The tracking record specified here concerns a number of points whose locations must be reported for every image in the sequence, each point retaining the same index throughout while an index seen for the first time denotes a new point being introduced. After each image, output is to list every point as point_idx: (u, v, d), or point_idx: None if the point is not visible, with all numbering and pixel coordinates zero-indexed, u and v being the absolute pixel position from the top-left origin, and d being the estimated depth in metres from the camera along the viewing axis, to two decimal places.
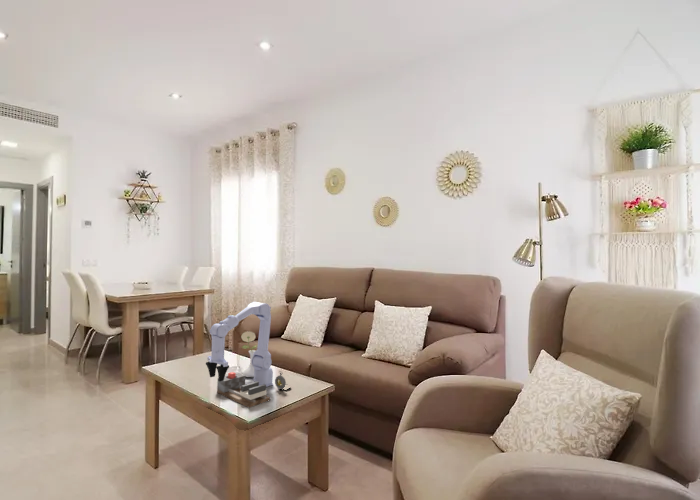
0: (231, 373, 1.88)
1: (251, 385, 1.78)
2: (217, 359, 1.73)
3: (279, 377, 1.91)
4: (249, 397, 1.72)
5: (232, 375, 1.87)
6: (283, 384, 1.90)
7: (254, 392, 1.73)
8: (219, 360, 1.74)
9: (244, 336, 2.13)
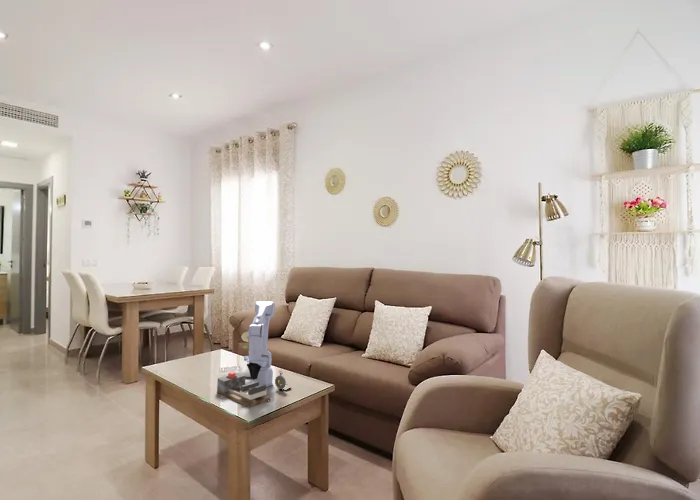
0: (231, 373, 1.88)
1: (251, 385, 1.78)
2: (255, 359, 1.75)
3: (279, 377, 1.91)
4: (249, 397, 1.72)
5: (232, 375, 1.87)
6: (283, 384, 1.90)
7: (254, 392, 1.73)
8: (257, 360, 1.75)
9: (244, 336, 2.13)
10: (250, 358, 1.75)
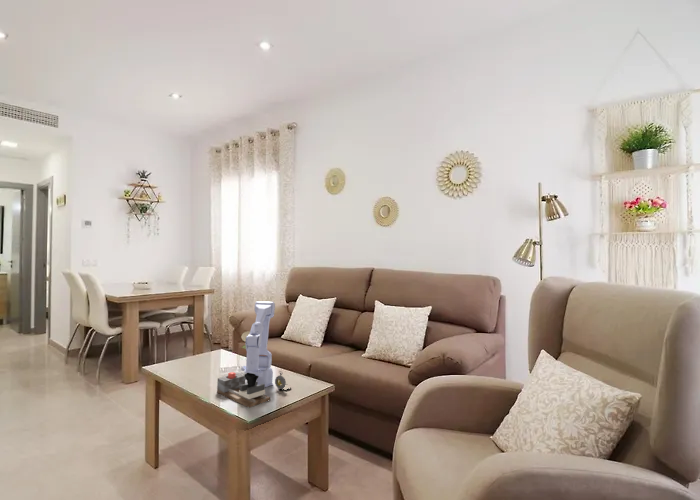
0: (231, 373, 1.88)
1: None
2: (252, 369, 1.76)
3: (279, 377, 1.91)
4: (248, 396, 1.72)
5: (232, 375, 1.87)
6: (283, 384, 1.90)
7: (253, 391, 1.74)
8: (254, 370, 1.76)
9: (244, 336, 2.13)
10: (247, 368, 1.76)
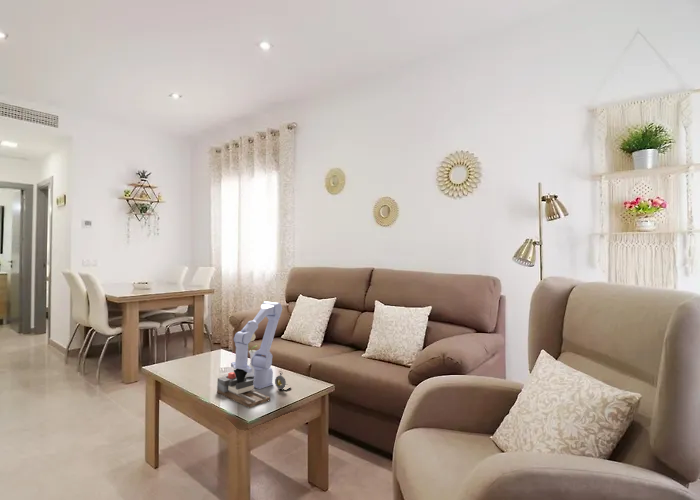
0: (231, 373, 1.88)
1: None
2: (241, 365, 1.81)
3: (279, 377, 1.91)
4: (237, 391, 1.78)
5: (232, 375, 1.87)
6: (283, 384, 1.90)
7: (241, 387, 1.79)
8: (243, 366, 1.81)
9: None
10: (236, 364, 1.81)
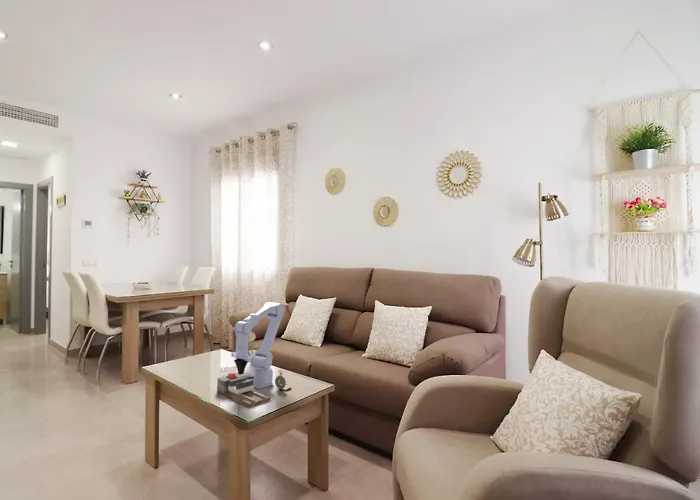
0: (231, 373, 1.88)
1: (239, 380, 1.85)
2: (242, 355, 1.81)
3: (279, 377, 1.91)
4: (236, 391, 1.78)
5: (232, 375, 1.87)
6: (283, 384, 1.90)
7: (241, 387, 1.79)
8: (243, 356, 1.81)
9: None
10: (237, 354, 1.81)
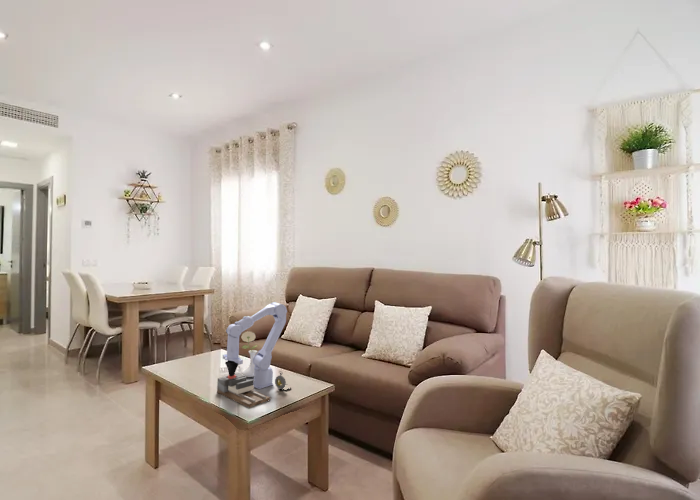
0: None
1: (239, 380, 1.85)
2: (232, 357, 1.86)
3: (279, 377, 1.91)
4: (236, 391, 1.78)
5: (232, 377, 1.87)
6: (283, 384, 1.90)
7: (241, 387, 1.79)
8: (234, 358, 1.86)
9: (244, 336, 2.13)
10: (228, 356, 1.86)
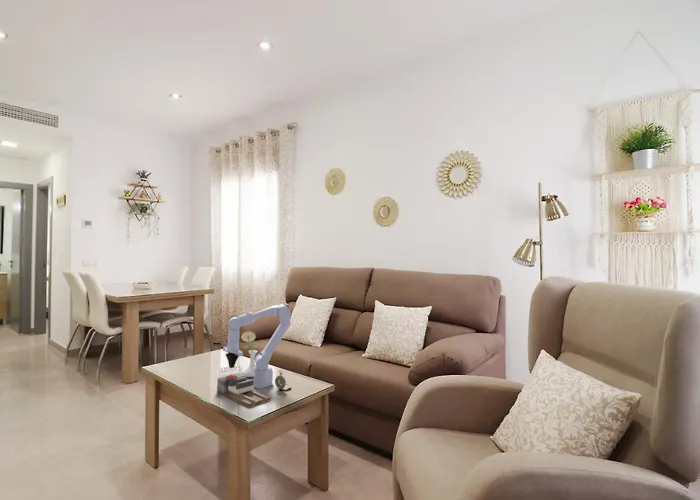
0: (231, 375, 1.88)
1: (239, 380, 1.85)
2: (233, 349, 1.90)
3: (279, 377, 1.91)
4: (236, 391, 1.78)
5: (232, 377, 1.87)
6: (283, 384, 1.90)
7: (241, 387, 1.79)
8: (234, 350, 1.90)
9: (244, 336, 2.13)
10: (228, 348, 1.90)
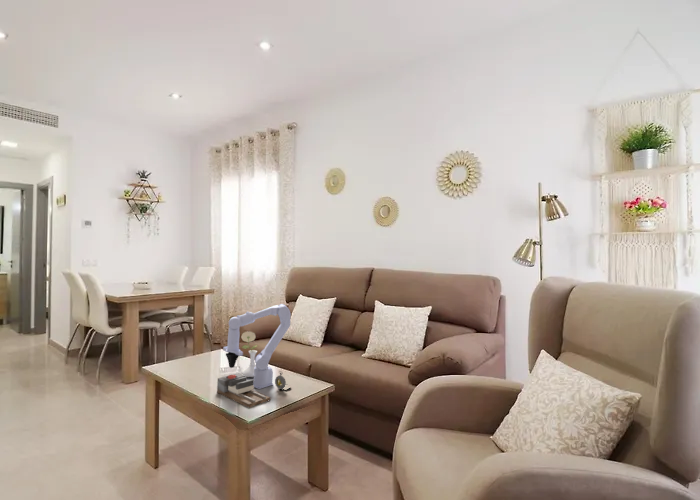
0: (231, 375, 1.88)
1: (239, 380, 1.85)
2: (233, 349, 1.91)
3: (279, 377, 1.91)
4: (236, 391, 1.78)
5: (232, 377, 1.87)
6: (283, 384, 1.90)
7: (241, 387, 1.79)
8: (234, 350, 1.91)
9: (244, 336, 2.13)
10: (228, 348, 1.91)
